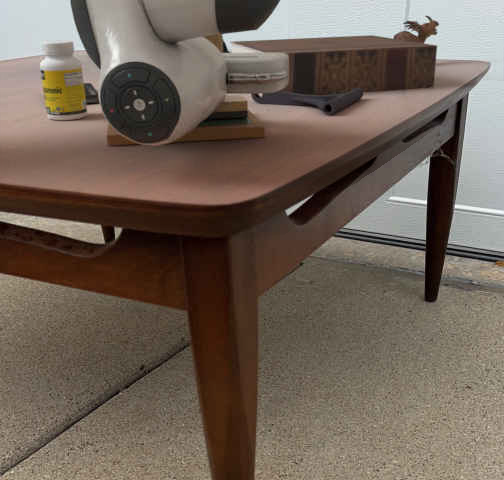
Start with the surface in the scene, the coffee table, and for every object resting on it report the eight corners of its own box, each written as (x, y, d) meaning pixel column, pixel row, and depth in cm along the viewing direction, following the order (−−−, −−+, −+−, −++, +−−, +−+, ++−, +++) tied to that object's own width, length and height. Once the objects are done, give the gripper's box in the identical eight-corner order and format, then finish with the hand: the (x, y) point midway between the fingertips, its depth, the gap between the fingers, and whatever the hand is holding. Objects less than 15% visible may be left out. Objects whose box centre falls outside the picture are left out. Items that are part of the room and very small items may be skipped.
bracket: (271, 95, 109) (271, 76, 107) (363, 99, 103) (364, 79, 102) (232, 111, 97) (231, 90, 96) (333, 116, 91) (334, 94, 90)
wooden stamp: (182, 120, 83) (177, 32, 79) (180, 113, 88) (174, 29, 84) (248, 117, 84) (246, 30, 80) (242, 110, 89) (239, 27, 85)
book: (433, 87, 112) (437, 45, 110) (269, 98, 106) (269, 53, 103) (370, 71, 134) (371, 35, 131) (230, 79, 127) (229, 41, 124)
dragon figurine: (411, 61, 146) (414, 14, 142) (435, 63, 143) (440, 15, 139) (374, 68, 137) (377, 18, 134) (399, 70, 134) (403, 18, 130)
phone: (90, 82, 117) (99, 94, 104) (91, 89, 118) (100, 102, 105) (42, 85, 115) (45, 98, 102) (43, 92, 116) (46, 105, 103)
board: (107, 146, 77) (106, 134, 77) (111, 120, 92) (110, 110, 91) (264, 137, 80) (264, 126, 79) (244, 113, 94) (244, 103, 94)
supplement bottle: (39, 118, 94) (28, 42, 90) (73, 112, 98) (63, 39, 94) (61, 122, 91) (51, 44, 87) (95, 116, 95) (86, 40, 91)
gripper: (283, 46, 69) (297, 36, 81) (89, 48, 72) (131, 37, 85) (283, 110, 72) (296, 91, 84) (96, 109, 75) (135, 90, 87)
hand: (212, 64), depth 84 cm, fingers closed on wooden stamp, 3 cm apart
